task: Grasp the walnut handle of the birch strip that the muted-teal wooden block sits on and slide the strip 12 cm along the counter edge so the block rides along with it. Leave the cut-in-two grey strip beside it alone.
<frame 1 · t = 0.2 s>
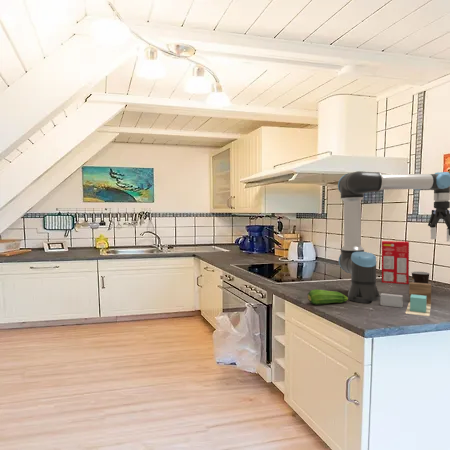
hand: (441, 240, 195), 28 cm above the countertop, fingers open, 13 cm apart
cut grey strip: (389, 312, 158), on the countertop
vegetable: (327, 303, 175), on the countertop
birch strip: (418, 298, 161), point 5 cm above the countertop, slide at 0.0 cm, touching teal block
teal block: (418, 310, 158), point 1 cm above the countertop, touching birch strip
coffee mug: (419, 291, 196), on the countertop
food packaging: (394, 282, 220), on the countertop
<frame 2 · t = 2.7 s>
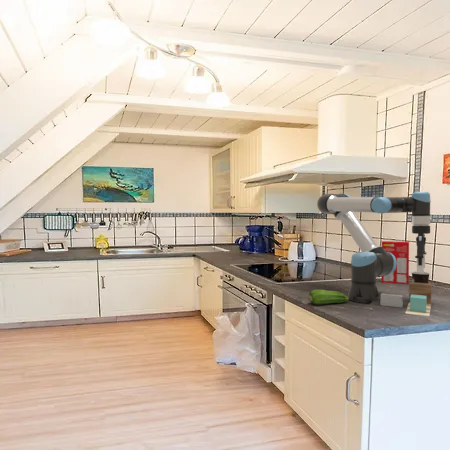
hand: (421, 270, 169), 16 cm above the countertop, fingers open, 13 cm apart
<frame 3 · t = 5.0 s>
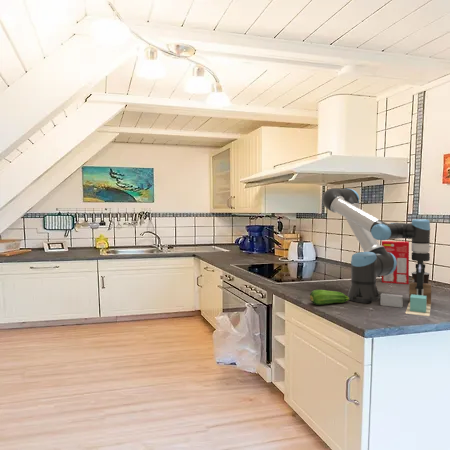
hand: (420, 301, 170), 2 cm above the countertop, fingers closed on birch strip, 3 cm apart
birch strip: (418, 298, 161), point 5 cm above the countertop, slide at 0.0 cm, touching gripper
teal block: (418, 310, 158), point 1 cm above the countertop
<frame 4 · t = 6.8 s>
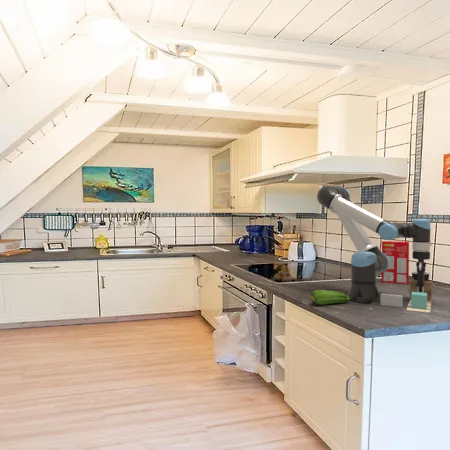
hand: (420, 298, 175), 2 cm above the countertop, fingers closed on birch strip, 3 cm apart
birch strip: (419, 296, 166), point 5 cm above the countertop, slide at 5.9 cm, touching gripper, teal block
teal block: (419, 306, 163), point 1 cm above the countertop, touching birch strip
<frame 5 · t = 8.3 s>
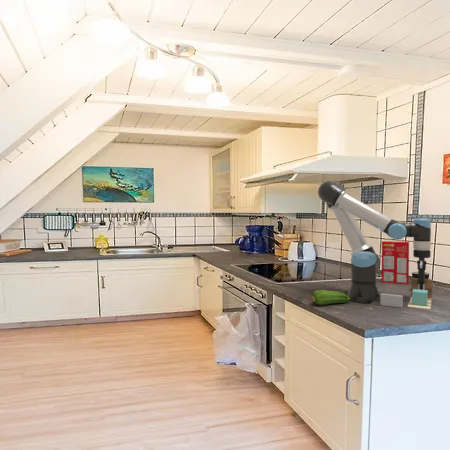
hand: (421, 295, 180), 2 cm above the countertop, fingers closed on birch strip, 3 cm apart
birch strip: (420, 293, 171), point 5 cm above the countertop, slide at 11.9 cm, touching gripper, teal block
teal block: (419, 303, 168), point 1 cm above the countertop, touching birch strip
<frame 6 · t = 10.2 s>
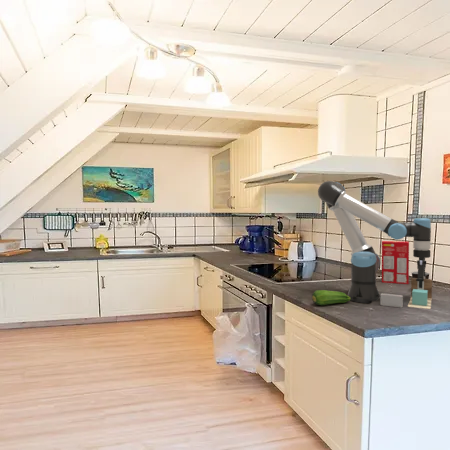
hand: (421, 291, 180), 4 cm above the countertop, fingers open, 13 cm apart
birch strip: (420, 293, 171), point 5 cm above the countertop, slide at 12.0 cm, touching teal block
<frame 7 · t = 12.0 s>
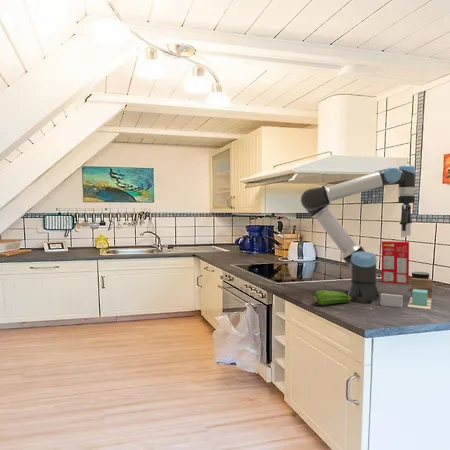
hand: (405, 236, 187), 31 cm above the countertop, fingers open, 13 cm apart
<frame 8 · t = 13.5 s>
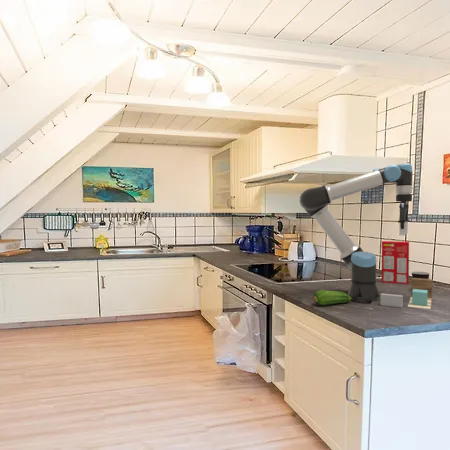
hand: (403, 234, 189), 32 cm above the countertop, fingers open, 13 cm apart
at the end: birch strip slide at 12.0 cm; teal block moved 12.0 cm from its start; teal block touching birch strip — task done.
